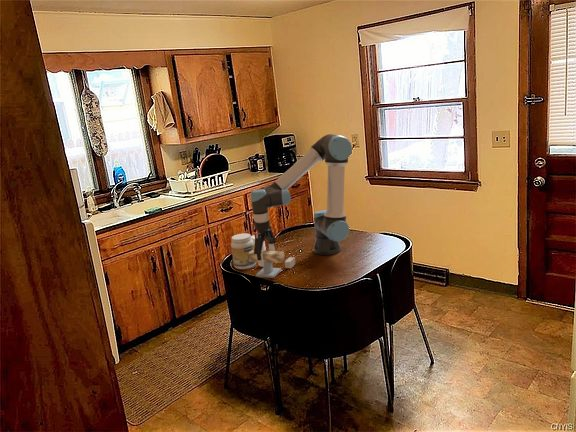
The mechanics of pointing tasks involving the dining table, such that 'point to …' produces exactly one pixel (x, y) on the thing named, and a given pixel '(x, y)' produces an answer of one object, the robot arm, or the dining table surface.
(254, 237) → the white tapered cup
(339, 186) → the robot arm
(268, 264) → the pale grey stand
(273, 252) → the bar
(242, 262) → the supplement tub
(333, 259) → the dining table surface
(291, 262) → the rack
